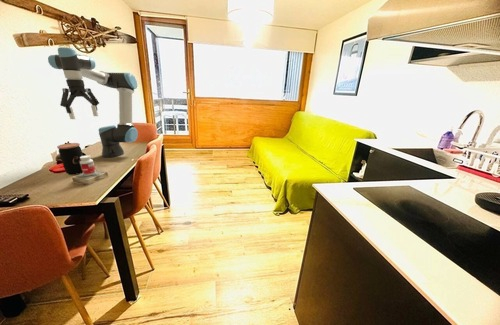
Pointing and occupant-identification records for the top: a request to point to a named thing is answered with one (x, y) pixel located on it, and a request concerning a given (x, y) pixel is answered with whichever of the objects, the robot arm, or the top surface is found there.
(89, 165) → the pill bottle
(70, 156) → the coffee jar
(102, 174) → the banknote stack
